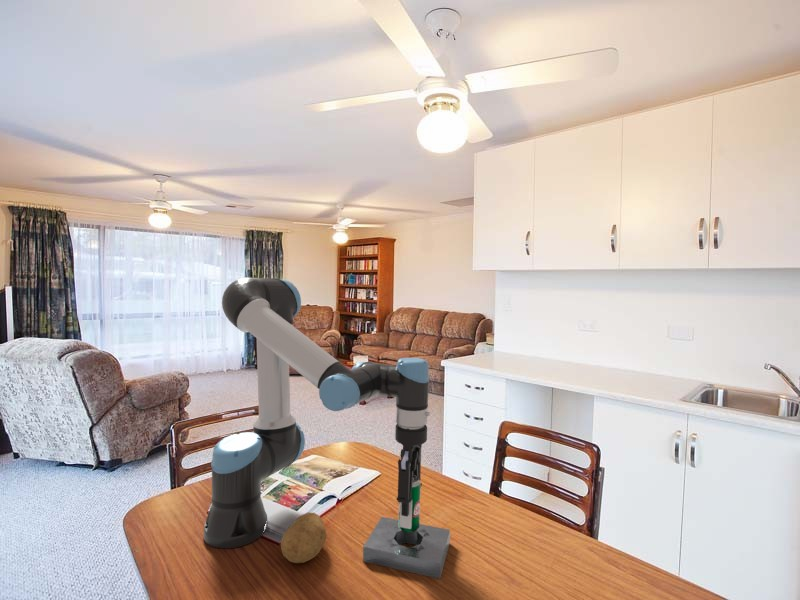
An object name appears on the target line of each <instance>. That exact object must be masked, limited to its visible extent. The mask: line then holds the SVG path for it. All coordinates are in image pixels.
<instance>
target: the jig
mask: <svg viewBox="0 0 800 600" xmlns="http://www.w3.org/2000/svg"><path fill="white" fill-rule="evenodd" d="M405 544H409V545H413V546H407V545H405ZM450 544H451V529H448V528H444V527H443V528H442V527H438V526H432V525H429V524H428V525H426V524H423V523H422V524H421V523H420V526H419V528H418V529H417V530H416V531H415V532H411V533H408V532H404V531H402V530H401V529H400V528H399V526H398V519H395V518H390V517H386V516H380V518H379V520H378V521H377V523H376V524H375V526H374V528H373V530H372V532H371V533H370V534H369V537H368V538H367V540H366V542H365V543H364V545H363V547H362V548H363V549H362V550H363V551H362V562H364V563H367V564H372V565H377V566H382V567H385V568H390V569H394V570H399V571H404V572H408V573H412V574H417V575H422V576H426V577H430V578H435V579H441V577H442V574H443V569H444V566H445V562H446V559H447V555H448V552H449V547H450Z"/></svg>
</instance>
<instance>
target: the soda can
mask: <svg viewBox="0 0 800 600" xmlns="http://www.w3.org/2000/svg"><path fill="white" fill-rule="evenodd" d="M421 483H422V482H421V480H419V477H418V476H416V475H413V482H412V494H411V500H412V528H411V529H407V528H402V527H400V502H398V519H397V520H398V526H399V528H400V529H401V530H402V531H404V532H408V533H411V532H415V531H416V530H417V529H418V528H419V526H420V524H421V523H420V522H421V521H420V517H421V515H420V514H421V492H422V491H421V489H422V486H421Z"/></svg>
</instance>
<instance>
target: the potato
mask: <svg viewBox="0 0 800 600" xmlns="http://www.w3.org/2000/svg"><path fill="white" fill-rule="evenodd" d="M326 534H327V533H326V529H325V525H324V522H323V520H322V518H321V516H320V515H319V514H317V513H315V512H305V513H303V514H301V515H299V516H298V518H296V519H295V520H294V521H293V522H292V524H291V525H290V526H289V527H288V528H287V529H286V531H285V532H284V534H283V536H282V538H281V539H280V540H281V541H280V548H281V552H282V556H283V557H284V558H285V559H287V561H288V562H290V563H293V564H304V563H307V562H308V561H311V560H312V559H313V558H315V557H317V555H318V554H319V553H320V552H321V549H323V546H324V543H325V542H326V541H325V540H326V536H327V535H326Z"/></svg>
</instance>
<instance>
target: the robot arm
mask: <svg viewBox="0 0 800 600" xmlns="http://www.w3.org/2000/svg"><path fill="white" fill-rule="evenodd" d="M221 299H222V301H221V305H222V310H223V314H224V316H225V317H226V318H227V319H228V321H229V322H230V323H231V324H232V325H234V326H235V328H237V329H238V330H239V331H241V333H249V334H250V335H252V336H253V337H254V338H256V359H257V360H256V362H257V363H256V365H257V396H258V400H257V401H258V402H257V404H258V418H257V419H256V420H255V421H254V422H253V424H252V426H253V430H252V431H253V432H250V431H245V432H240V433H234V434H230V435H227V436H225V437H223V438H222V439H221V440H219V441H218V442H217V443H216V445H215V446H214V448H213V451H212V458H211V459H212V460H211V462H210V463H211V464H210V465H211V466H210V467H211V506H210V508H209V511H208V514H207V517H206V519H205V522H204V525H203V539H204V542H205V543H206V544H207V545H209V546H211V547H213V548H216V549H233V548H239V547H242V546H246V545H249V544H251V543H253V542H255V541H257V540H258V539H259V538H261V537H262V536H263V535H262V533H263V531H264V526H265V524H266V521H267V522H268V514H267V512H266V510H265V506H264V502H263V500H262V496H261V493H262V491H261V489H262V488H261V487H262V481H263V480H264V479H266V478H269V477H270V476H273V475H274V474H276V473H278V472H279V471H281V470H283V469H286V468H287V467H290V466H291V465H293V463H295V462H297V461H298V460H299V459H300V457H301V456H302V454H303V452H304V450H305V445H306V438H305V433H304V431H303V430H302V428H301V426H300V425H299V424H298V423H297V418H296V417H294V416H293V415H292V414H291V392H290V391H291V390H290V367H291V368H293V369H294V371H296V372H297V373H299V374H300V375H301V376H303V378H305V379H306V380H307V381H308V382H310V384H312V385H313V386H315V387H316V388H317V389H319V390H318V394H319V395H318V396H319V399H320V400H321V402H322V405H323V406H324V407H325V408H326V409H327V410H329V411H332V412H340V411H344V410H347V409H350V408H352V407H355V405H357V404H360V403H361V402H363V401H367V400H368V399H371V398H373V397H376V396H386V397H392V398H395V402H396V403H395V430H394V431H395V433H394V435H395V438H394V439H395V441H396V442H397V443H398V444H400V445H402V448H401V450H400V459H399V458H398V461H397V466H398V467H397V468H398V474H397V475H398V476H397V477H398V478H397V497H396V501H397V503H399V502H400V527H402V528H407V529H411V528H412V500H411V494H412V482H413V475H416V476H418V477H419V480H420V481H421V475H422V474H421V471H422V470H421V469H422V468H421V467H422V465H421V464H422V447H423V444H425V443H426V442H427V441H428V440H427V439H428V426H427V424H428V417H430V416H431V413H430V411H428V409H429V408H428V407H429V389H430V388H429V386H430V374H429V373H430V372H429V362H428V361H427V360H426V359H424V358H421V357H402V358H399V359H398V360H397V363H396V365H394V364H388V363H387V364H386V363H380V362H373V361H358V362H355V364H354V365H353V366H352V368H351V369H350V368H348V367H347V366H346V365H345V364H343V363H342V362H340V361H339V360H338V359H337V358H335V357H333V356H332V355H331V354H330V353H328V352H327V350H325V349H323V347H321V346H319V345H318V344H317V343H315V341H313V340H312V339H310V338H309V337H308V336H307V335H305V334H304V333H302V332H301V330H299V329H298V328H296V327H295V326H294V317H296V316H297V315H298V313H299V312H300V310H301V305H302V299H301V294H300V292H299V290H298V288H297V287H296V286H295V285H294V284H293V282H291V281H289V280H287V279H283V278H277V277H276V278H275V277H273V278H272V277H271V278H269V277H268V278H266V277H262V278H261V277H241V278H238V279H236V280H234V281H232V282H231V283H230V284H228V286H227V287H226V288H225V290H224V292H223V294H222V298H221ZM422 484H423V483H422V482H421V487H422V486H423V485H422Z"/></svg>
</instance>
